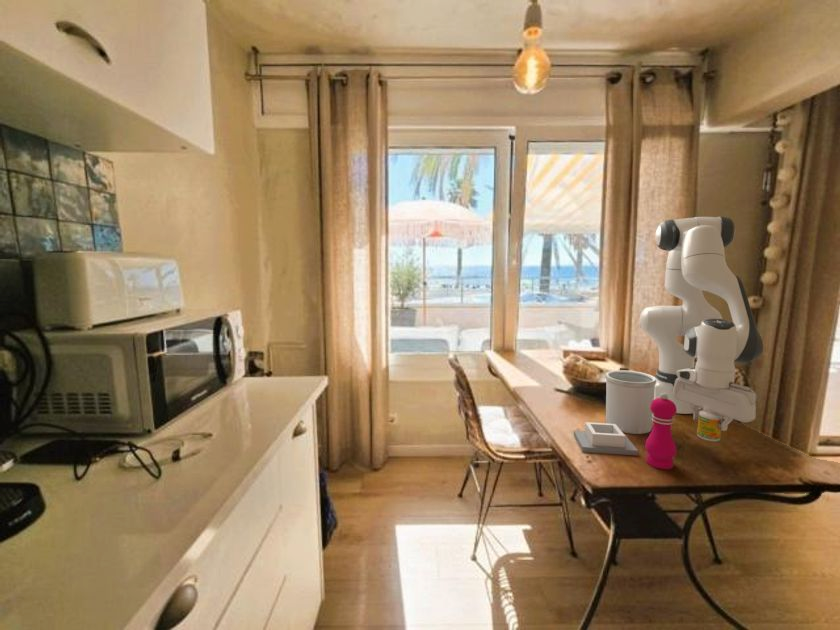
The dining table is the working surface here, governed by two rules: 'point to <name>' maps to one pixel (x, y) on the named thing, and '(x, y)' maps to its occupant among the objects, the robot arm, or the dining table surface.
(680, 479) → the dining table surface
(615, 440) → the docking board
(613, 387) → the utensil holder
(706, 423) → the supplement bottle
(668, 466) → the pepper mill
